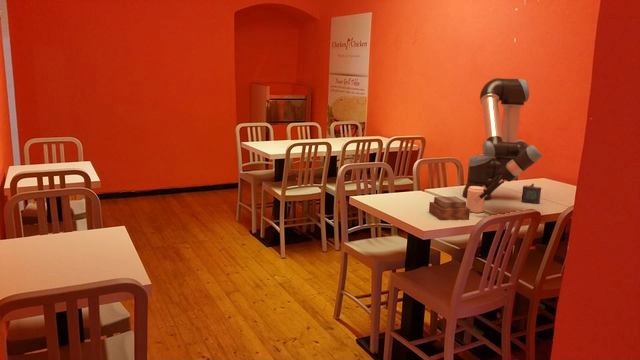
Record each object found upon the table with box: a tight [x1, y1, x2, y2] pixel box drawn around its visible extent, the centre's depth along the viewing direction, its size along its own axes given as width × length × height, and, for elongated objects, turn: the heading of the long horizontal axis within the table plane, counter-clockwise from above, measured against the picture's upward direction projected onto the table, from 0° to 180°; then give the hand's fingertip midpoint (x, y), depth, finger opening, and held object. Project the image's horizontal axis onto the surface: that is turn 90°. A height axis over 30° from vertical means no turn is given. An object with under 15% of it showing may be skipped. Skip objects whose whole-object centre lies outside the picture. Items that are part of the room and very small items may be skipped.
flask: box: [521, 182, 542, 205], centre depth 279 cm, size 9×3×11 cm, turn 74°
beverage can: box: [466, 186, 485, 214], centre depth 257 cm, size 8×8×12 cm
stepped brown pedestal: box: [428, 195, 471, 221], centre depth 247 cm, size 14×14×8 cm
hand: (475, 198), depth 256 cm, fingers open, 13 cm apart
